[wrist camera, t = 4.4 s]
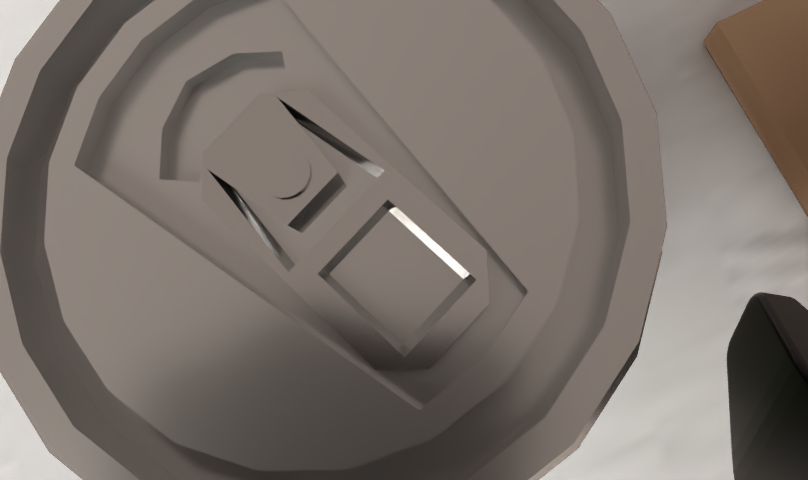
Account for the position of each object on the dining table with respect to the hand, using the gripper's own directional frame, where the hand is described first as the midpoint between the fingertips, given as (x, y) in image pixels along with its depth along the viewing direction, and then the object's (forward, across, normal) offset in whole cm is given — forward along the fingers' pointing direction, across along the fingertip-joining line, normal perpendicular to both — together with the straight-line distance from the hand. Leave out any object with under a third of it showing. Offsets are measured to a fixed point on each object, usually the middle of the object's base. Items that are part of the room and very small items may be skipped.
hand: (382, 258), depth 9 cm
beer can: (+6, 0, +6) cm, 8 cm away
